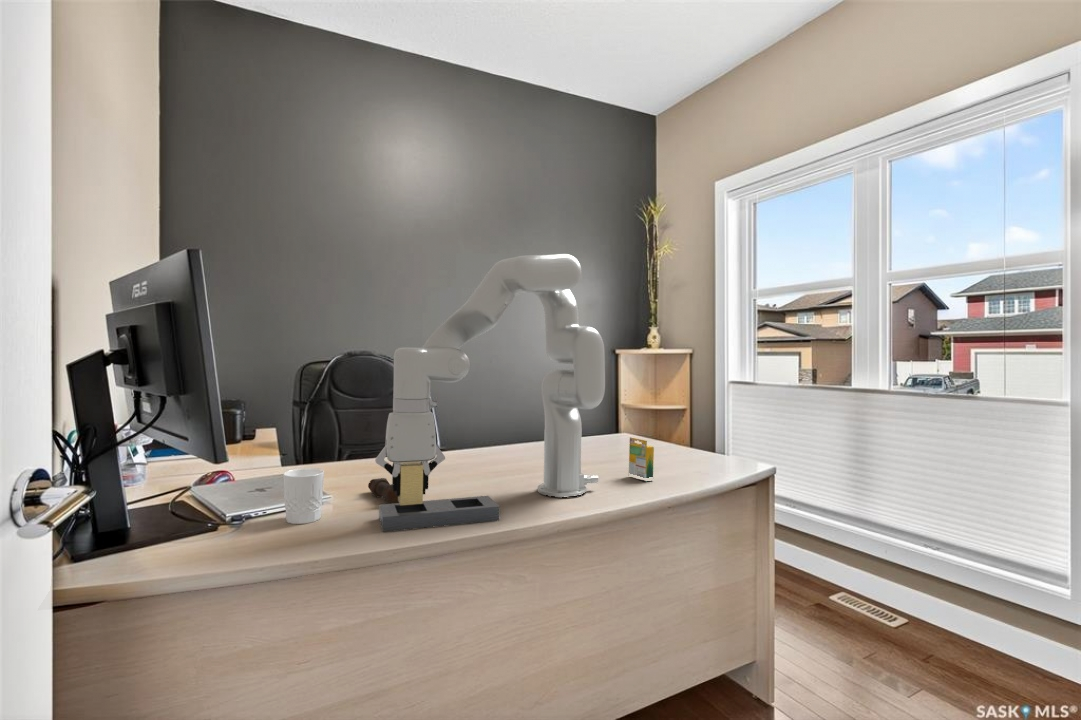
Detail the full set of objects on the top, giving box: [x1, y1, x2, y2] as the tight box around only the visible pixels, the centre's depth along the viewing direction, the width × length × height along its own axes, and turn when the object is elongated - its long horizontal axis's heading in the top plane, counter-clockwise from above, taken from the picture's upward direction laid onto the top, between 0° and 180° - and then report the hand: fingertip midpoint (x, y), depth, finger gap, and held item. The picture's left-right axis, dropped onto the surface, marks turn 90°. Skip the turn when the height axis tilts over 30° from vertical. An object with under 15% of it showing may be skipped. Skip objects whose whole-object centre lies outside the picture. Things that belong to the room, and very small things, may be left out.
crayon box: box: [628, 437, 655, 478], centre depth 157 cm, size 7×3×12 cm, turn 32°
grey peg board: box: [378, 495, 500, 533], centre depth 117 cm, size 24×9×3 cm, turn 111°
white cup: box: [282, 467, 325, 525], centre depth 116 cm, size 8×8×10 cm
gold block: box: [398, 461, 424, 506], centre depth 115 cm, size 4×4×8 cm
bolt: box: [367, 477, 399, 504], centre depth 133 cm, size 6×5×15 cm
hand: (410, 492), depth 115 cm, fingers closed on gold block, 4 cm apart
